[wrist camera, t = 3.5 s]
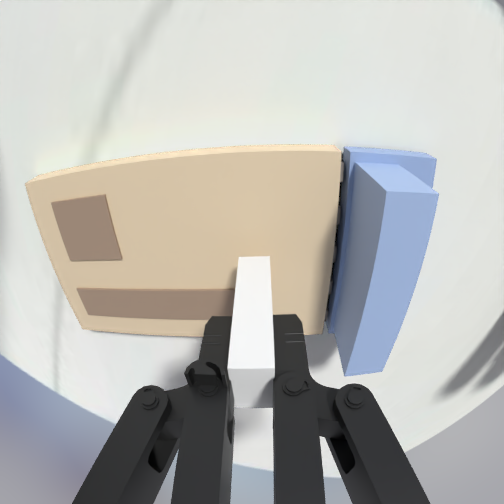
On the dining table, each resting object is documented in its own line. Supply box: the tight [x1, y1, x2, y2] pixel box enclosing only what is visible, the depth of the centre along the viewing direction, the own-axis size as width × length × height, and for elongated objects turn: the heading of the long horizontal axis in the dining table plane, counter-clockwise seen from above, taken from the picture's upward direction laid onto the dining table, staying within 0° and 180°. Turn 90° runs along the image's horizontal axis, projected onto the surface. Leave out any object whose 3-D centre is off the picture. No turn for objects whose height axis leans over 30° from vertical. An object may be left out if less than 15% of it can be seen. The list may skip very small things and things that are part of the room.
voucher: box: [25, 145, 344, 337], centre depth 17 cm, size 18×12×2 cm, turn 93°
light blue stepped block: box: [326, 147, 439, 376], centre depth 15 cm, size 5×12×5 cm, turn 3°
